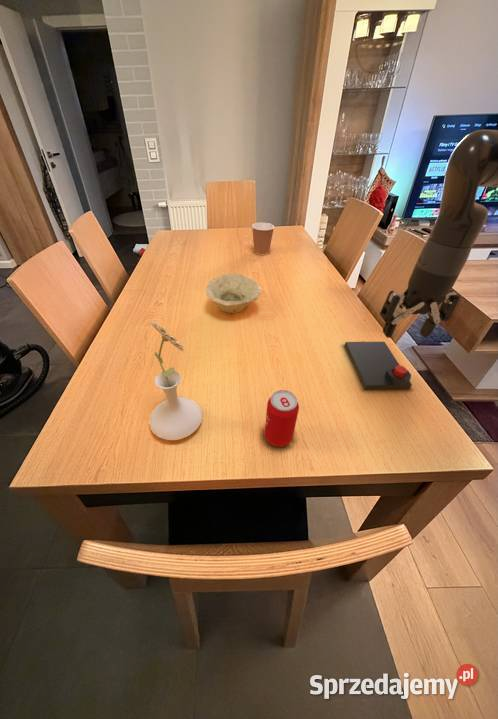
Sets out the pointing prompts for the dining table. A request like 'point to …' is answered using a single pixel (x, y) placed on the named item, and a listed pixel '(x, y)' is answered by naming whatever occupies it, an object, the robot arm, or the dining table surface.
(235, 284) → the bowl
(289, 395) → the beverage can
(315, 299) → the dining table surface
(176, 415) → the flower in vase
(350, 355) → the grey plate red button
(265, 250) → the coffee cup
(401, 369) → the button
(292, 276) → the dining table surface
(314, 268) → the dining table surface
